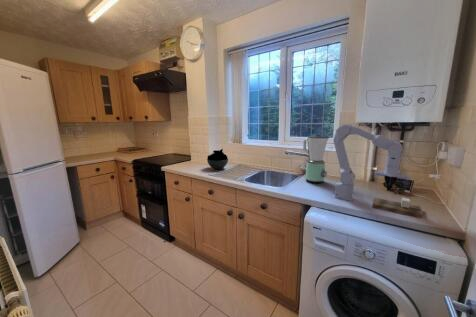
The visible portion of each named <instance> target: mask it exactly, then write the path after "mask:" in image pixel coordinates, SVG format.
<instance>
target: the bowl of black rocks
mask: <svg viewBox="0 0 476 317" xmlns="http://www.w3.org/2000/svg"><path fill="white" fill-rule="evenodd" d="M223 150H224V149H223V148H221V149H219V150H217V149H215V150H213V151H212V153H211V154H208V155H207V159H206V161H207V164H208V166H209V167H210V168H212V169H214V170H222V169H223V168H225V167H226V166H227V165H228V161H229V158H228V155H226V154H225V153H224V152H223Z"/></svg>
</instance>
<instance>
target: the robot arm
mask: <svg viewBox="0 0 476 317" xmlns="http://www.w3.org/2000/svg"><path fill="white" fill-rule="evenodd" d="M349 135H357V136H360V137H362V138H365V139H366V140H369V141H371V143H372V145H374V146H376V147H378V148H380V149H382V150H385V151H387V156H386V162H385V168H384V171H377V170H376V171H374V172H373V176H374V177H375V176H379V177H384V178H383V179H384V182H386V185H387V188H386V191H387V192H388V191H389V192H391V190H392V189H391V188H392V186H393V185H394V183H395V182H396V181H398V180H399V179H401V180H406V181H410V175H407V174H403V173H402V174H401V173H399V171H400V167H401V161H402V160H401V159H402V157H401V156H402V152H403V145H402V143H400V142H399V141H395V139H390V138H388V137H386V135H384V134H382V135H381V134H377V135H375V134H373V133H371V132H369V131H367V130H365V129H362V128H361V127H358V126H356V125H352V124H350V123H347V124H345V123H344V124H341V125H339V126H338V127H337V129H336V130H335V134H334V137H333V144H334V148H335V151H336V152H335V153H336V156H337V159H338V164H339V168H340V170H339V171H340V177H339V181H336V183H335V188H334V190H335V191H334V198H336V199H341V200H344V201H345V200H346V201H350V202H352V201H353V200H354V198H355V196H354V194H353V193H354V187H355V186H354V185H355V183H354V181H355V179H356V174H355V173H354V172H353V170H352V168H351V165H350V162H349V159H348V154H347V150H346V146H345V142H344V141H345V140H346V139H347V137H348V136H349ZM389 183H390V186H389Z"/></svg>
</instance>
